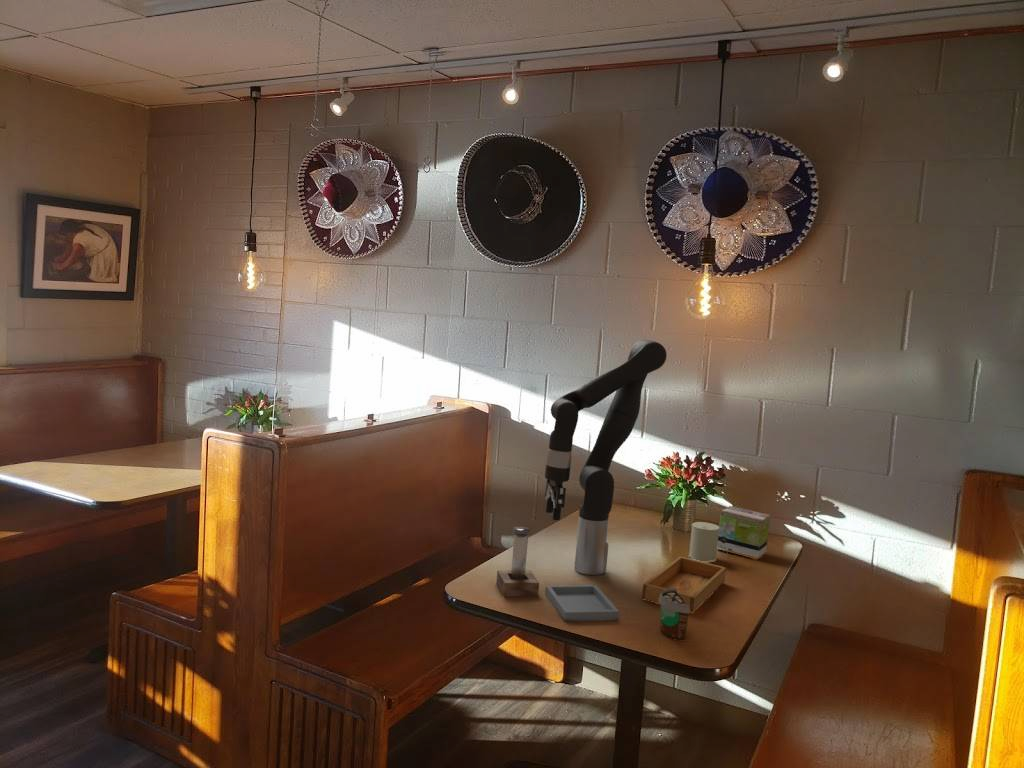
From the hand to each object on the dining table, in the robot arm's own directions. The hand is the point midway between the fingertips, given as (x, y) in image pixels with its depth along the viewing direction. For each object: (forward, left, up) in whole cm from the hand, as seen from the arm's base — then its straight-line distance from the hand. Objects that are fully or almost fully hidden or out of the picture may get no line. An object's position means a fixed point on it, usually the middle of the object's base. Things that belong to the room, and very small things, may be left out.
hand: (552, 516), depth 242 cm
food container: (-20, +45, -18) cm, 53 cm away
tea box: (-76, -17, -18) cm, 79 cm away
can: (-58, -11, -18) cm, 61 cm away
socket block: (+13, +14, -18) cm, 26 cm away
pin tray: (-2, +27, -18) cm, 33 cm away
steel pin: (+13, +14, -18) cm, 26 cm away
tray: (-37, +18, -18) cm, 45 cm away
